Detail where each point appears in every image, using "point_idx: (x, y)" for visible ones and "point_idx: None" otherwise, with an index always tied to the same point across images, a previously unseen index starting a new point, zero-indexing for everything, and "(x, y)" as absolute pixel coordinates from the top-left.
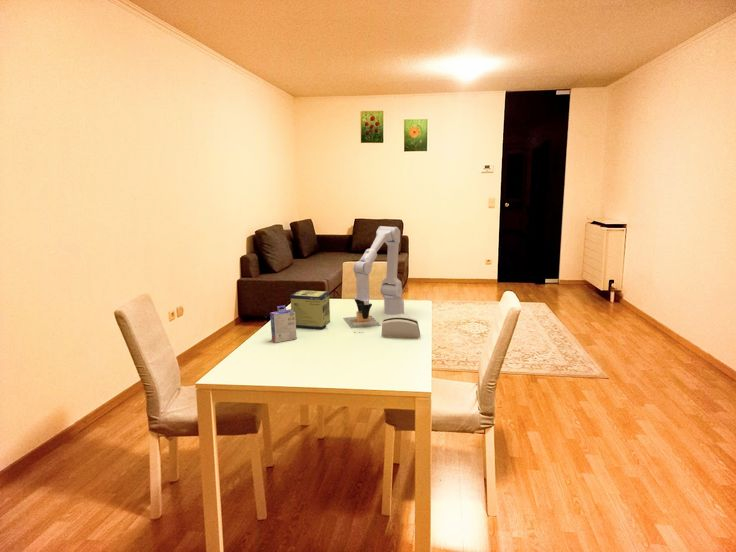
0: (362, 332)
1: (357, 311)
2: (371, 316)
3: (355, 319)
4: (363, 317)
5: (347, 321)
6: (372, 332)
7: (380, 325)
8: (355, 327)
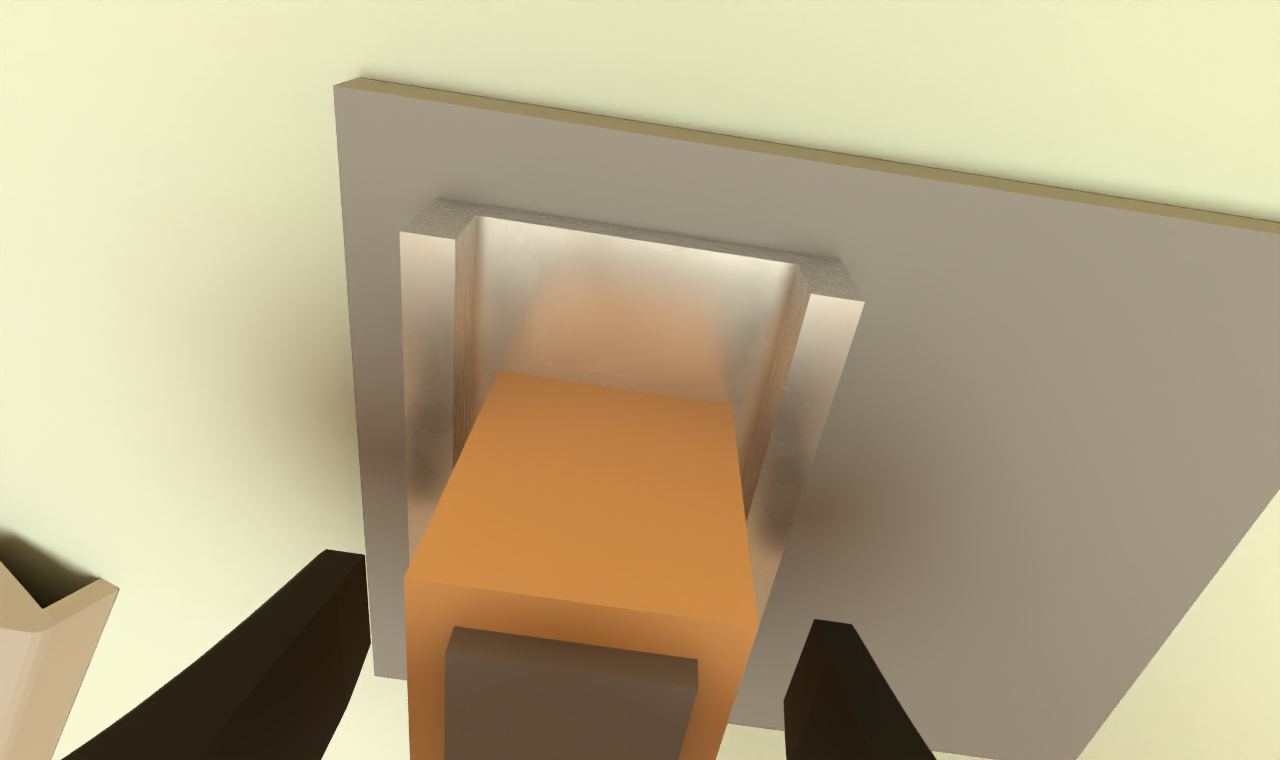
0: (155, 279)
1: (747, 655)
2: (1005, 754)
3: (769, 424)
4: (294, 583)
5: (1020, 246)
6: (134, 445)
7: (390, 674)
8: (382, 234)
